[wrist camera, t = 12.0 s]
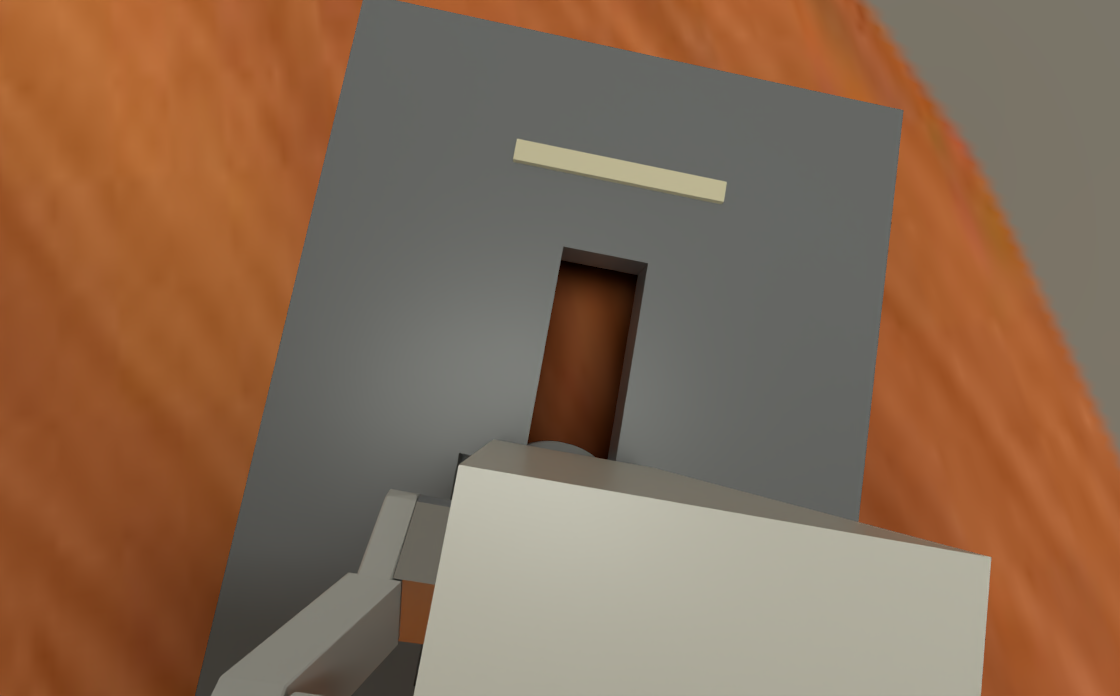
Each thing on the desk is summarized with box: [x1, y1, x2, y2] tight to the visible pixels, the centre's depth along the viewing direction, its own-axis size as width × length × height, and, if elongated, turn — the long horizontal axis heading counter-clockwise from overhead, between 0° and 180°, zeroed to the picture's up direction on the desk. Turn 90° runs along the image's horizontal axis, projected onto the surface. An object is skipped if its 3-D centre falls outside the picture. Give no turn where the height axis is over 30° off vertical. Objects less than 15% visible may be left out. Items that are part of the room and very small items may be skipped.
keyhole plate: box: [195, 0, 903, 696], centre depth 19 cm, size 22×16×5 cm
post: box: [413, 439, 991, 696], centre depth 12 cm, size 4×4×16 cm
